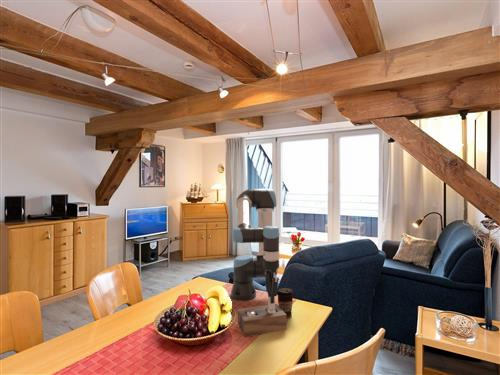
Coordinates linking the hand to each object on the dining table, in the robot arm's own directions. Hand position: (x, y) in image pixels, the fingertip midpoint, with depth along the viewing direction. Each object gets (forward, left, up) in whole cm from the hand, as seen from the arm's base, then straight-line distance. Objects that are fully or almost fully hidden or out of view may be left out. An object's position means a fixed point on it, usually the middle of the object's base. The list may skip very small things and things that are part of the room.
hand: (271, 309), depth 131 cm
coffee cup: (-7, +10, -8) cm, 14 cm away
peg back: (0, 0, -6) cm, 6 cm away
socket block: (0, -5, -8) cm, 9 cm away
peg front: (0, -10, -6) cm, 12 cm away
